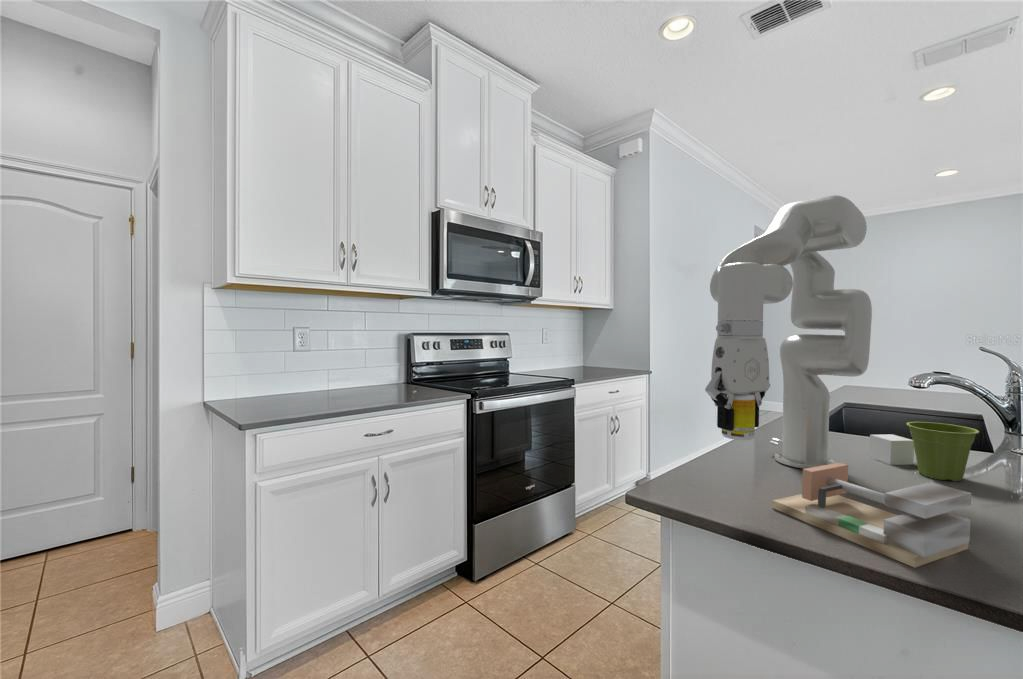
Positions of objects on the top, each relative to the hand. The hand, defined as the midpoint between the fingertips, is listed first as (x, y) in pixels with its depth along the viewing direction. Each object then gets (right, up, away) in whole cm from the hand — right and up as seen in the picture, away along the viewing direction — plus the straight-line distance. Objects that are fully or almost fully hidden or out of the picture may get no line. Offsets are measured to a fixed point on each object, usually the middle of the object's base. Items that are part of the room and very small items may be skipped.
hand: (737, 426), depth 84 cm
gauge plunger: (+17, -12, -8) cm, 23 cm away
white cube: (+53, -15, +29) cm, 62 cm away
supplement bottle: (0, -2, 0) cm, 2 cm away
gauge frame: (+17, -16, -8) cm, 24 cm away
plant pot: (+54, -15, +17) cm, 59 cm away
